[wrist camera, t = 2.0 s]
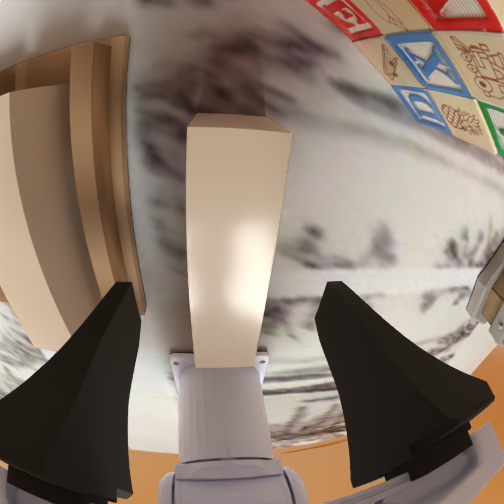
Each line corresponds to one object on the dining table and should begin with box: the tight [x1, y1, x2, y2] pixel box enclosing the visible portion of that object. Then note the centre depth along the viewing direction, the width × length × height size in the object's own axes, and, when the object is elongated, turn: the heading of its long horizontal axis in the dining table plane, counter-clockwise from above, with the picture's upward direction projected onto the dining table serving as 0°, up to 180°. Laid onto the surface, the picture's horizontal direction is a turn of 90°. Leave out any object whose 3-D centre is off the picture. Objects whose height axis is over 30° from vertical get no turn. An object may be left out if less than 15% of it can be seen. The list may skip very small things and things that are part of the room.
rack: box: [0, 35, 146, 315], centre depth 11 cm, size 16×16×3 cm
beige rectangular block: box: [186, 113, 293, 368], centre depth 13 cm, size 12×3×5 cm, turn 174°
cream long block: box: [0, 84, 102, 352], centre depth 10 cm, size 12×3×5 cm, turn 175°
